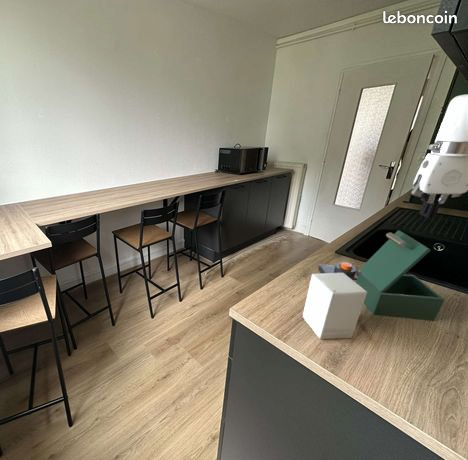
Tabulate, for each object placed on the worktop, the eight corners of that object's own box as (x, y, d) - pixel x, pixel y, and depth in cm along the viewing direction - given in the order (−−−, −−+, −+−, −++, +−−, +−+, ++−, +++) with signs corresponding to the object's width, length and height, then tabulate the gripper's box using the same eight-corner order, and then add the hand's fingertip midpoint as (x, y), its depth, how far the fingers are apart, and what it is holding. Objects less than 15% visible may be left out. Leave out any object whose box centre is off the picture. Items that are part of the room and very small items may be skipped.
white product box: (353, 338, 66) (369, 292, 60) (319, 340, 66) (332, 293, 60) (331, 314, 74) (343, 271, 68) (301, 315, 74) (311, 273, 68)
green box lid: (400, 231, 72) (386, 224, 72) (431, 250, 62) (414, 241, 62) (361, 270, 79) (348, 264, 79) (382, 293, 68) (367, 286, 69)
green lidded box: (404, 298, 80) (414, 275, 76) (432, 325, 69) (445, 299, 66) (352, 293, 83) (359, 271, 79) (371, 319, 72) (380, 294, 69)
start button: (348, 266, 91) (349, 262, 90) (352, 271, 88) (354, 267, 88) (338, 265, 92) (339, 261, 91) (342, 270, 89) (343, 266, 88)
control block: (347, 271, 94) (350, 262, 93) (358, 284, 87) (361, 274, 86) (318, 269, 96) (320, 260, 95) (326, 281, 89) (328, 272, 88)
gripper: (429, 150, 62) (404, 219, 69) (505, 149, 59) (470, 221, 66) (409, 147, 69) (388, 210, 76) (476, 146, 66) (447, 212, 73)
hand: (426, 215), depth 71 cm, fingers closed
